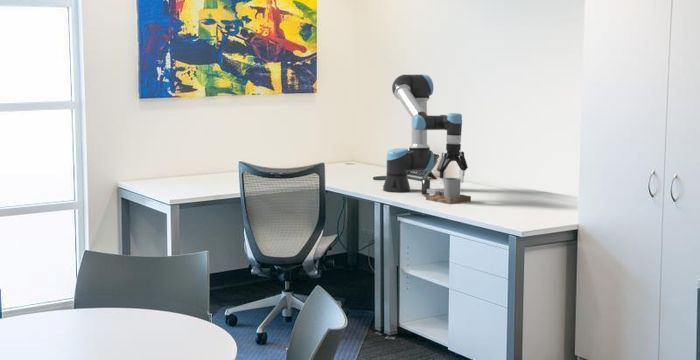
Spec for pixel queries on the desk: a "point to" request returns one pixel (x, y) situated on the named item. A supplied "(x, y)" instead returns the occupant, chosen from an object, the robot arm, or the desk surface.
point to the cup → (452, 187)
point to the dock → (447, 200)
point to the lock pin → (428, 188)
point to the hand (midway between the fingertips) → (451, 183)
